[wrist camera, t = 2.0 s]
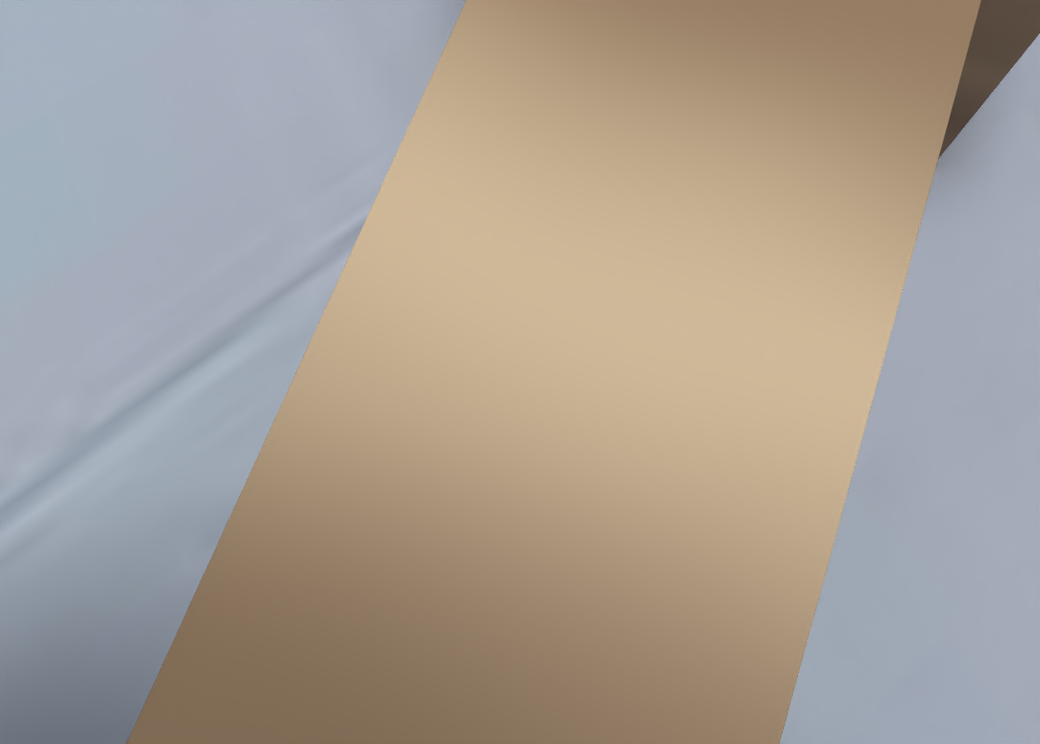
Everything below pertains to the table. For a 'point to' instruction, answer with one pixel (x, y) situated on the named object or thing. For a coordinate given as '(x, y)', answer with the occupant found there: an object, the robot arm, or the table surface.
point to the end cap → (991, 55)
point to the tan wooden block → (583, 386)
